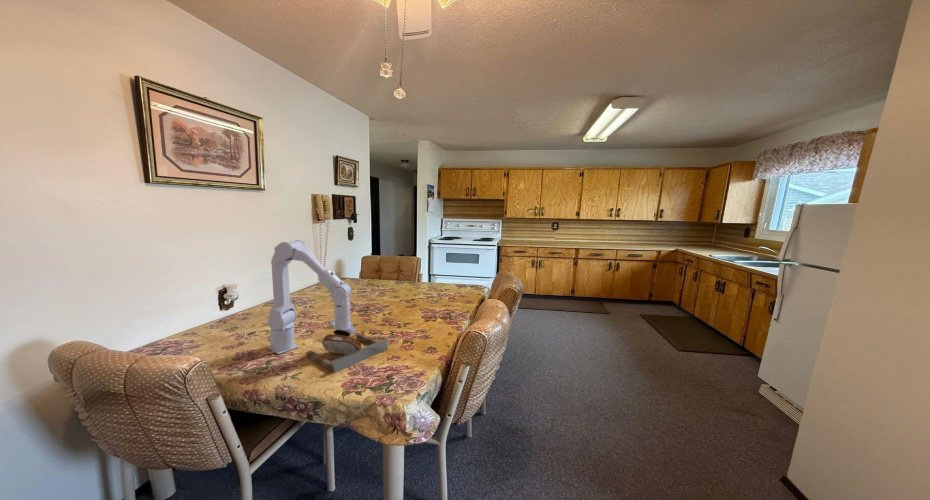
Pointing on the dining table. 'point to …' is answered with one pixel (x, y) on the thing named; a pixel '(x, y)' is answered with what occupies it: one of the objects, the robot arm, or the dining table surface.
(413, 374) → the dining table surface
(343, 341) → the tin
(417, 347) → the dining table surface
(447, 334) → the dining table surface
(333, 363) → the grey u-shaped bracket
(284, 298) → the robot arm
